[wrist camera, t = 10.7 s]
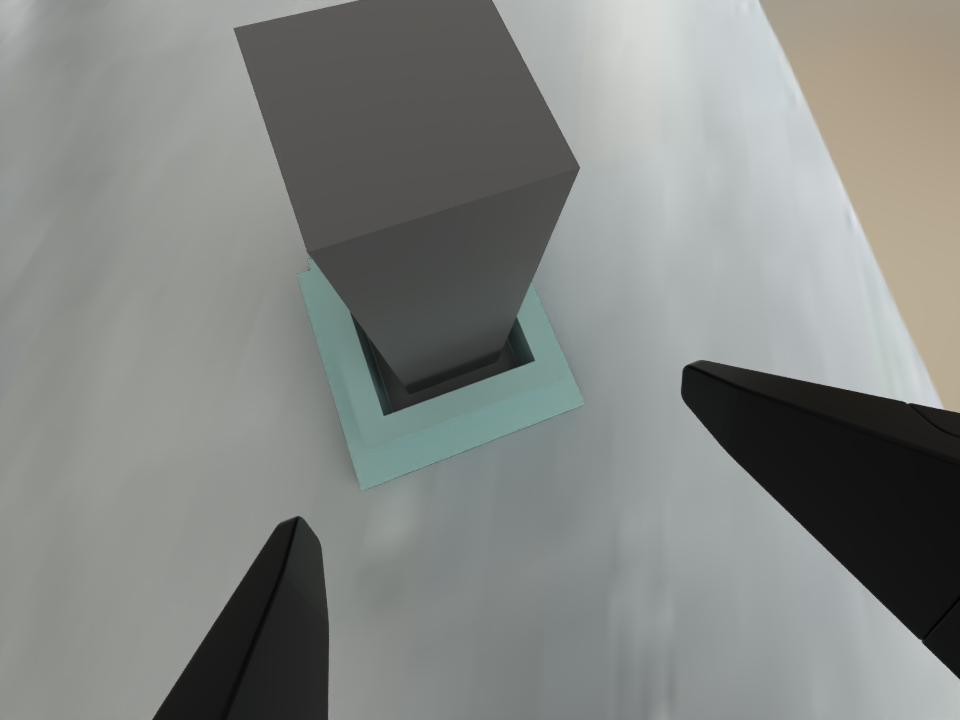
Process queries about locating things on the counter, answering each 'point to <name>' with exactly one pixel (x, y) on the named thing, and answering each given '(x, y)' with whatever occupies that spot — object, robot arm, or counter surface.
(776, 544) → the counter surface
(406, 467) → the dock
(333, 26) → the plug
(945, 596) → the robot arm
